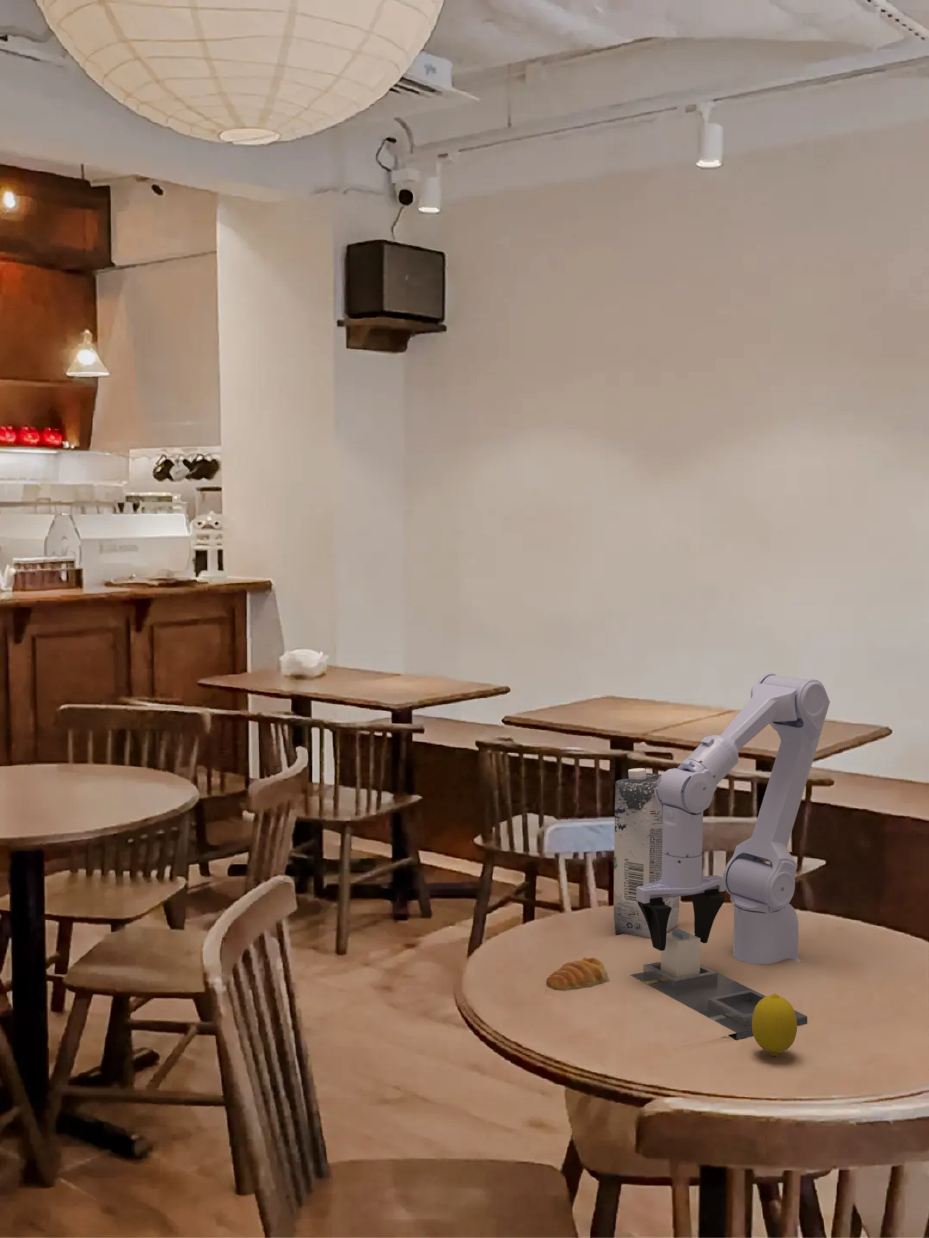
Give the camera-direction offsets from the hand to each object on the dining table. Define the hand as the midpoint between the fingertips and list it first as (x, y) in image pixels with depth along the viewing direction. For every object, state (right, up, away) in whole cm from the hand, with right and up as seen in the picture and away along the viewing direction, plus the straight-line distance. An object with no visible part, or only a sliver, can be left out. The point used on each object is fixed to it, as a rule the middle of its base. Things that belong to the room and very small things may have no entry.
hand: (680, 944), depth 188 cm
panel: (+4, -6, -7) cm, 10 cm away
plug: (0, -5, 0) cm, 5 cm away
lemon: (+8, -8, -25) cm, 27 cm away
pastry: (-15, -6, -1) cm, 16 cm away
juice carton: (-2, -4, +23) cm, 24 cm away
